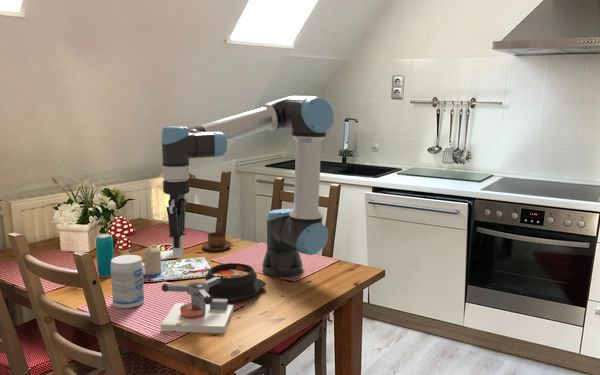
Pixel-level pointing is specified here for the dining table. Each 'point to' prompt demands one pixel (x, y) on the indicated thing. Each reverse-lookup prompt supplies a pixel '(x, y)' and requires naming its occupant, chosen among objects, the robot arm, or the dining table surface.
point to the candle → (153, 260)
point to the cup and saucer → (216, 242)
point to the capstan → (195, 296)
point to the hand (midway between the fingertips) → (178, 257)
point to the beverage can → (104, 254)
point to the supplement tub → (127, 281)
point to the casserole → (234, 281)
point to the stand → (200, 318)
